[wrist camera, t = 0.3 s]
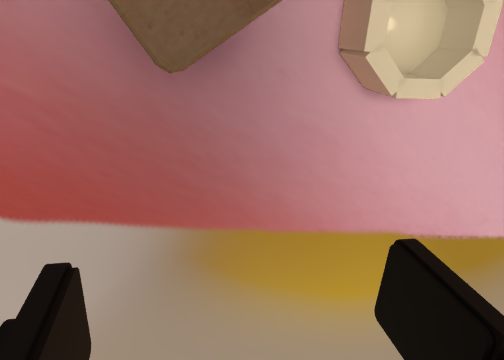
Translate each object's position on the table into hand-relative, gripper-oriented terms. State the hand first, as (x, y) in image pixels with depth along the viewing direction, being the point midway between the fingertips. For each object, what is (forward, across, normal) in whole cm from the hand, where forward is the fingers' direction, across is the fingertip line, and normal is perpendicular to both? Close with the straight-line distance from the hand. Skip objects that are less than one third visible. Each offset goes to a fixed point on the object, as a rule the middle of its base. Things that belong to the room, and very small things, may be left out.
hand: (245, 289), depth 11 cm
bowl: (+31, -23, -9) cm, 39 cm away
